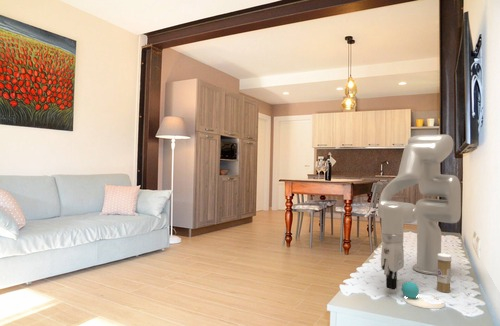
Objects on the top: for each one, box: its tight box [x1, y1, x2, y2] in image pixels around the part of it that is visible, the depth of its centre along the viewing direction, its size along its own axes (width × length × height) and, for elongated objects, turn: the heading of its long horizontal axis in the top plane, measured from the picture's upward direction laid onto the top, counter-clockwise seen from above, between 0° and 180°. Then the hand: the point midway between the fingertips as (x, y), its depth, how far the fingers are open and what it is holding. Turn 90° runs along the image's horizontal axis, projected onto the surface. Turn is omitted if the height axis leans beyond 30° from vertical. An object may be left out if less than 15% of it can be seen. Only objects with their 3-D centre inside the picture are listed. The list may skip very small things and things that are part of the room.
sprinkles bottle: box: [436, 252, 452, 293], centre depth 131 cm, size 5×5×13 cm
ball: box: [401, 281, 420, 298], centre depth 124 cm, size 6×6×6 cm
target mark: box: [403, 296, 446, 310], centre depth 121 cm, size 13×13×1 cm
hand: (391, 288), depth 129 cm, fingers closed
